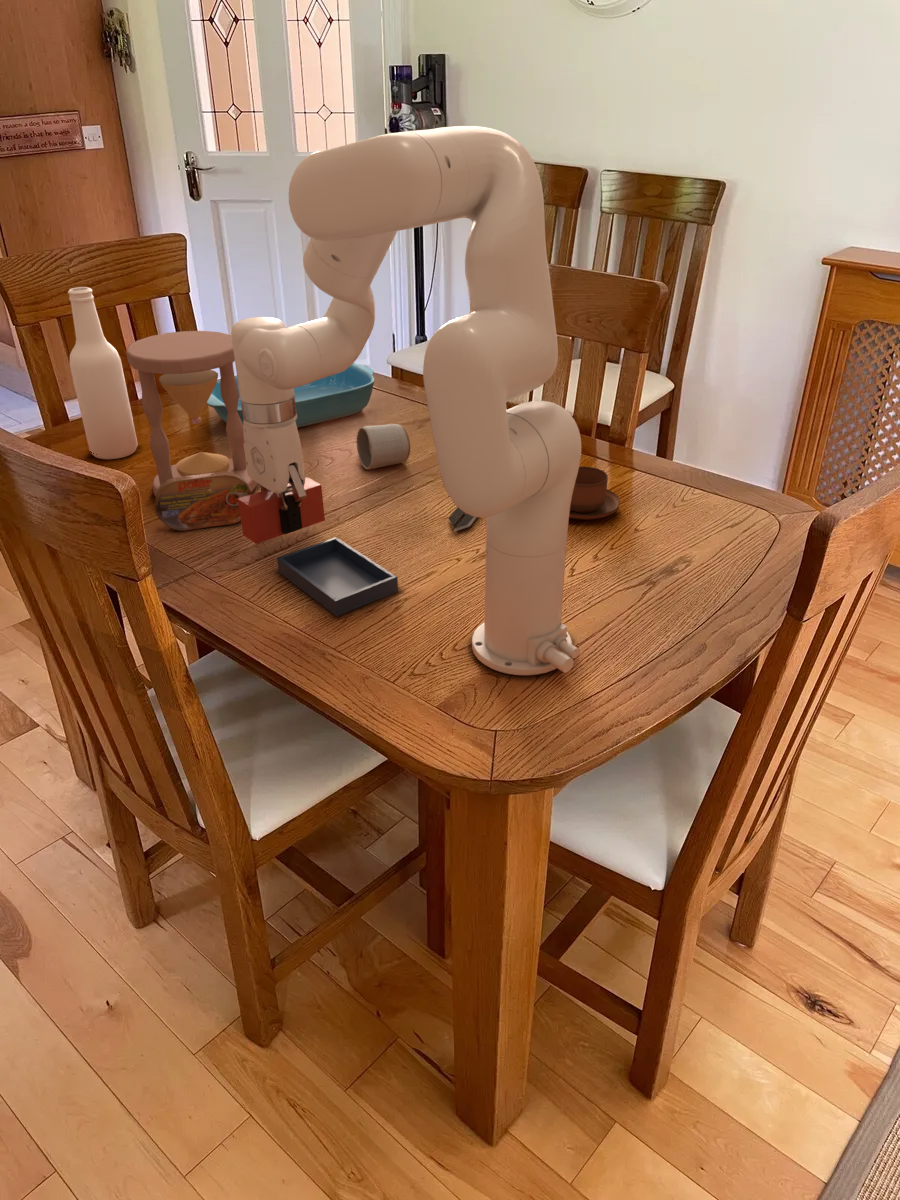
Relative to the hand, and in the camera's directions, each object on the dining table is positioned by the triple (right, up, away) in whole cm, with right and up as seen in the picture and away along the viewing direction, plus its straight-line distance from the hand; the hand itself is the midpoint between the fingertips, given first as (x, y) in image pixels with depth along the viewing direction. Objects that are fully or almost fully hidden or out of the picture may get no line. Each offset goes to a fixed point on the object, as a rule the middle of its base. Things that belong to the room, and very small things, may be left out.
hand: (284, 524), depth 135 cm
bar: (0, 0, 0) cm, 0 cm away
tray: (+9, -9, -8) cm, 15 cm away
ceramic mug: (+12, +14, +30) cm, 35 cm away
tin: (-14, +1, +8) cm, 16 cm away
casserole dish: (-8, +28, +52) cm, 59 cm away
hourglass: (-17, +8, +20) cm, 28 cm away
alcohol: (-39, +17, +35) cm, 55 cm away
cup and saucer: (+47, +3, +12) cm, 49 cm away
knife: (+30, +5, +14) cm, 34 cm away
